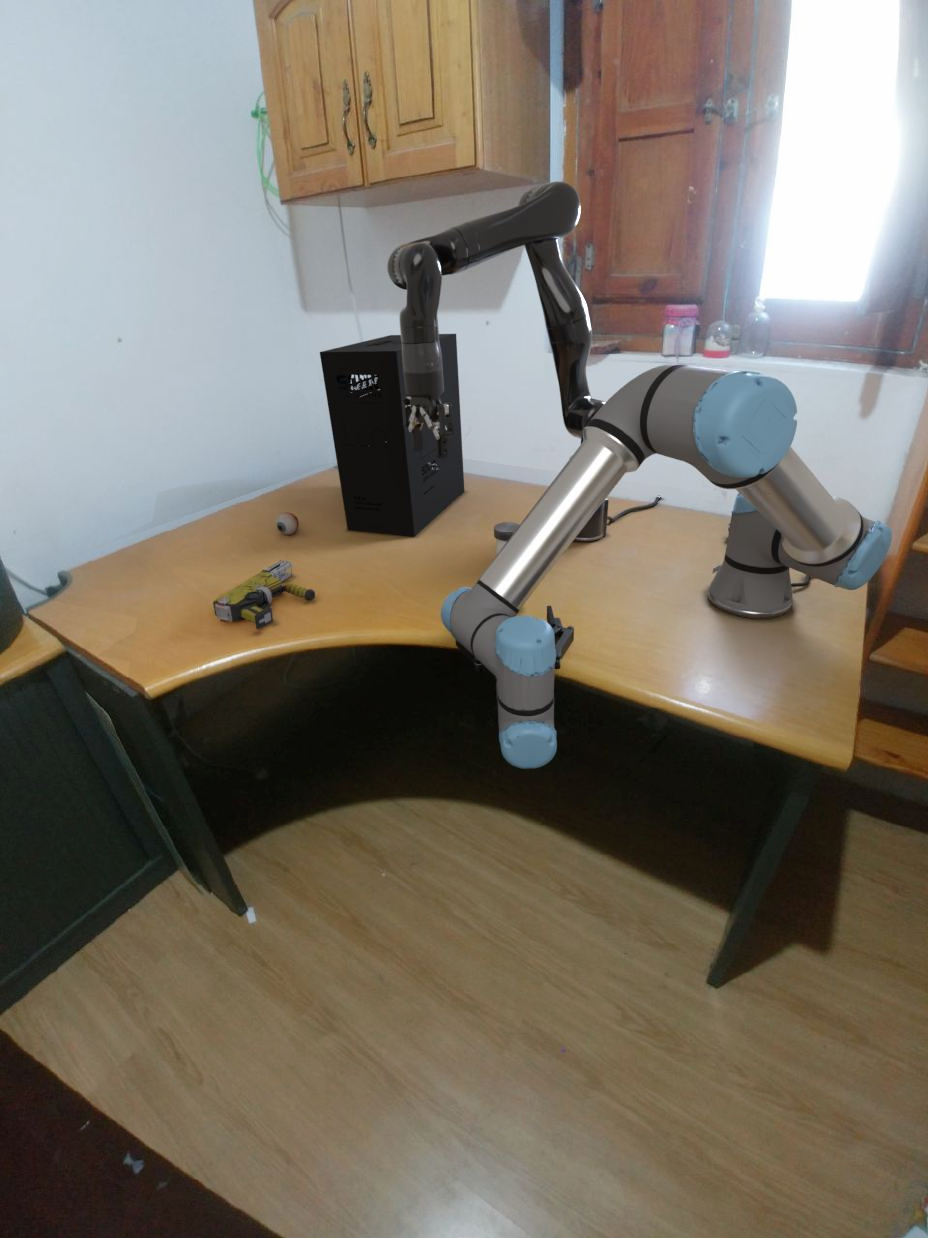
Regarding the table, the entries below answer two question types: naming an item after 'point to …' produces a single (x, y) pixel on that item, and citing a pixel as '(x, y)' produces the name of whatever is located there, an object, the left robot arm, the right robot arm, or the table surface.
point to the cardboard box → (389, 439)
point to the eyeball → (287, 523)
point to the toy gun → (258, 596)
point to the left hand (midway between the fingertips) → (430, 453)
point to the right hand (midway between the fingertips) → (511, 613)
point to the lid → (505, 530)
